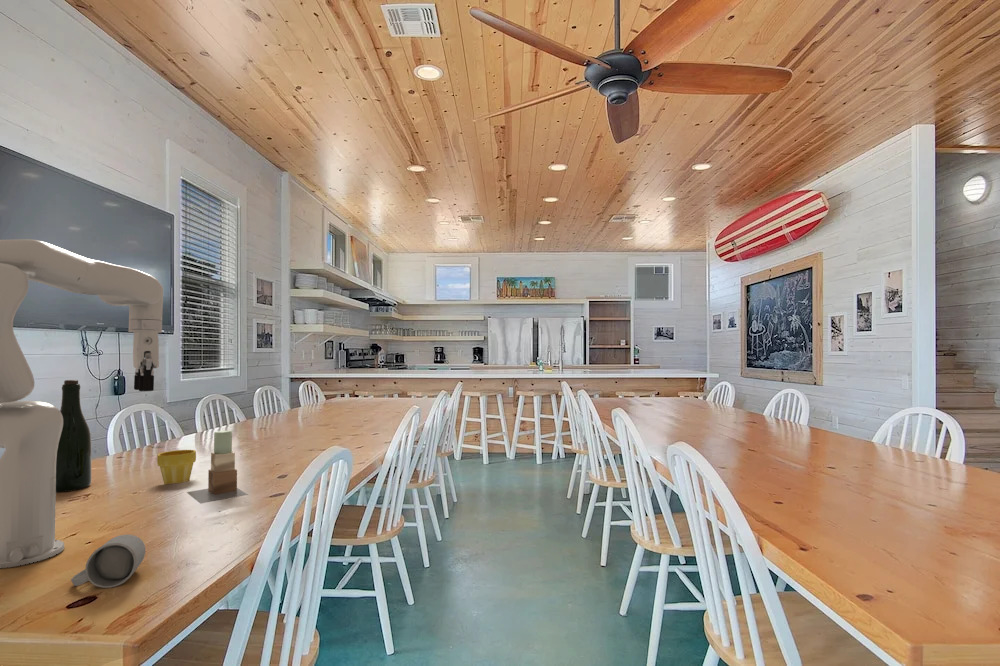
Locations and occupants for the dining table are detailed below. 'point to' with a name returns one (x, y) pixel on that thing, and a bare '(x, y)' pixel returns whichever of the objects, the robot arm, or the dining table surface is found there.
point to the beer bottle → (73, 442)
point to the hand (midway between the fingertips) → (143, 390)
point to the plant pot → (176, 465)
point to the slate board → (207, 496)
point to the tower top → (222, 462)
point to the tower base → (222, 481)
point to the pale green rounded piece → (222, 442)
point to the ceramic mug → (112, 562)
